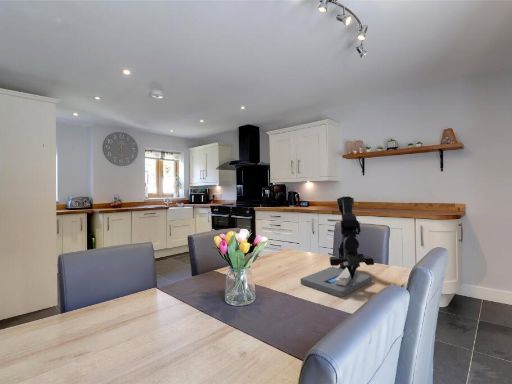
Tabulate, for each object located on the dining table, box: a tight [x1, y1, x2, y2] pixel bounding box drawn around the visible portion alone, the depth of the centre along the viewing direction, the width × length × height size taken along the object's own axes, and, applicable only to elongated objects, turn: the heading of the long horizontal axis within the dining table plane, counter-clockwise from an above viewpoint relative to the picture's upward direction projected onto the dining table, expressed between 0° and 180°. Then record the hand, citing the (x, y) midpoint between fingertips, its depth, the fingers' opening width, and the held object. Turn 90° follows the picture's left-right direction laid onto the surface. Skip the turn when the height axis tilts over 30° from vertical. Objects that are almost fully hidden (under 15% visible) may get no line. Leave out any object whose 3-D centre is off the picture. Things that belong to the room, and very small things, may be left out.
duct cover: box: [335, 267, 357, 286], centre depth 129 cm, size 22×4×3 cm, turn 147°
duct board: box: [300, 266, 373, 298], centre depth 130 cm, size 22×26×2 cm
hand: (352, 279), depth 125 cm, fingers closed
